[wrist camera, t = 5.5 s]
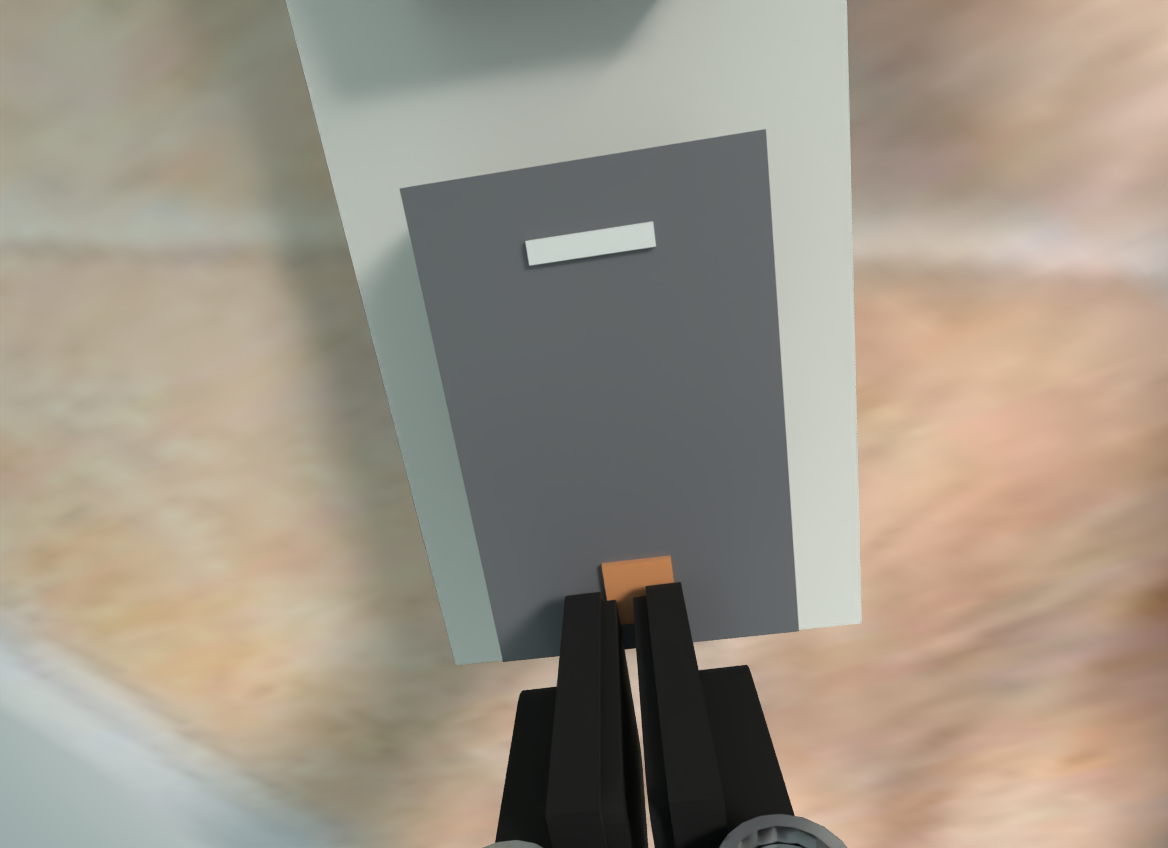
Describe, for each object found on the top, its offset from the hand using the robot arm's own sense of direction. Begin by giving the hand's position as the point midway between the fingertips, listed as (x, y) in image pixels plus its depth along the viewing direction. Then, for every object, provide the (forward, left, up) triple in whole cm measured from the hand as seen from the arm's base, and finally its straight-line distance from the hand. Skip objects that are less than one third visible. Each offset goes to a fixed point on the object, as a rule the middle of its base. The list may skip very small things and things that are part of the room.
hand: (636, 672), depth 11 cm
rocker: (-4, 0, -1) cm, 4 cm away
